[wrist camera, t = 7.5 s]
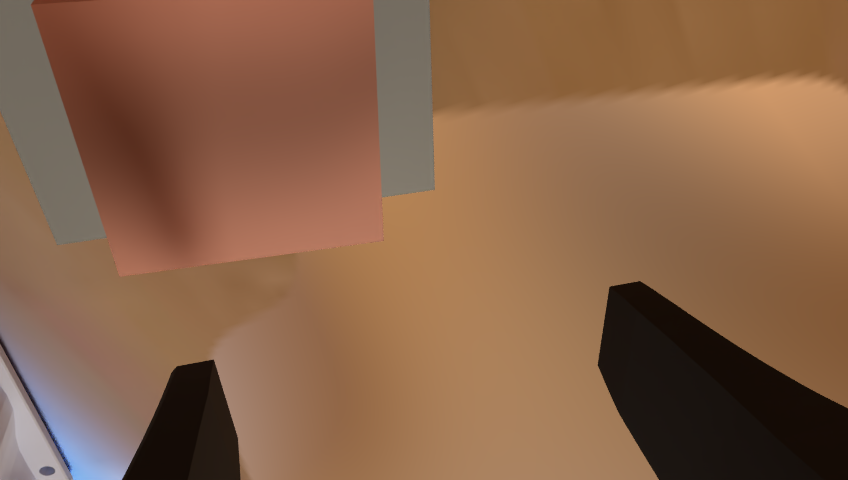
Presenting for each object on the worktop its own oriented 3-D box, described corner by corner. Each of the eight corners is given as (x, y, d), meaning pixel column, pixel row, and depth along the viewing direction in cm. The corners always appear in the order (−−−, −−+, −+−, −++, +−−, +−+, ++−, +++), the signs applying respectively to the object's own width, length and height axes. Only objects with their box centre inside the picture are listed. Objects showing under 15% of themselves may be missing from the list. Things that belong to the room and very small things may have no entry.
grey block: (409, 134, 22) (434, 189, 19) (81, 178, 20) (57, 245, 18) (389, -246, 16) (421, -247, 13) (-70, -226, 15) (-141, -223, 12)
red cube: (347, 131, 18) (383, 240, 14) (144, 153, 17) (119, 276, 13) (333, -79, 15) (372, -18, 11) (86, -68, 14) (30, 5, 10)
